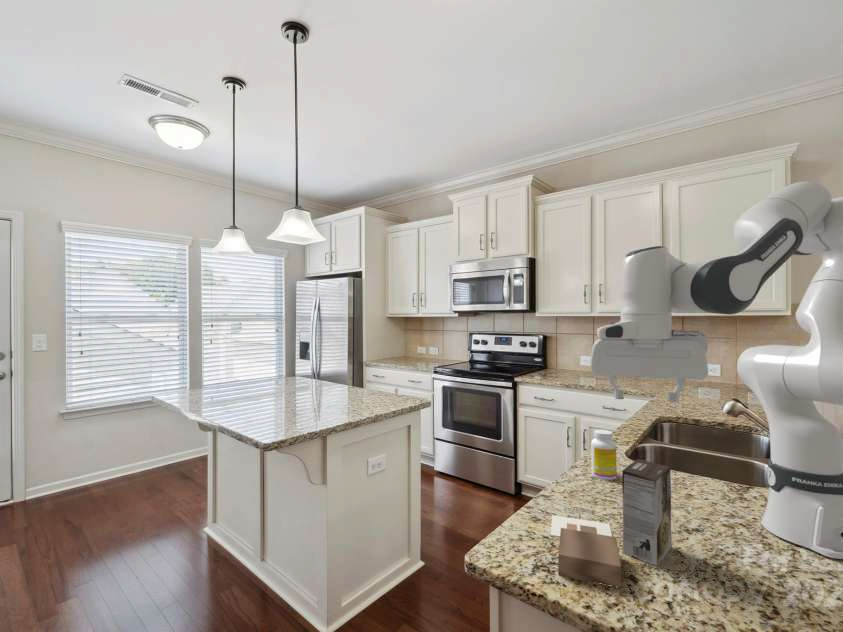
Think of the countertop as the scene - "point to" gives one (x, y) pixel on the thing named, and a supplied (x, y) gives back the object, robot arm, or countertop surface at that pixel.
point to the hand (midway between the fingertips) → (645, 400)
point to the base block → (589, 557)
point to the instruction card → (578, 526)
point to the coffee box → (646, 511)
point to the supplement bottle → (603, 455)
